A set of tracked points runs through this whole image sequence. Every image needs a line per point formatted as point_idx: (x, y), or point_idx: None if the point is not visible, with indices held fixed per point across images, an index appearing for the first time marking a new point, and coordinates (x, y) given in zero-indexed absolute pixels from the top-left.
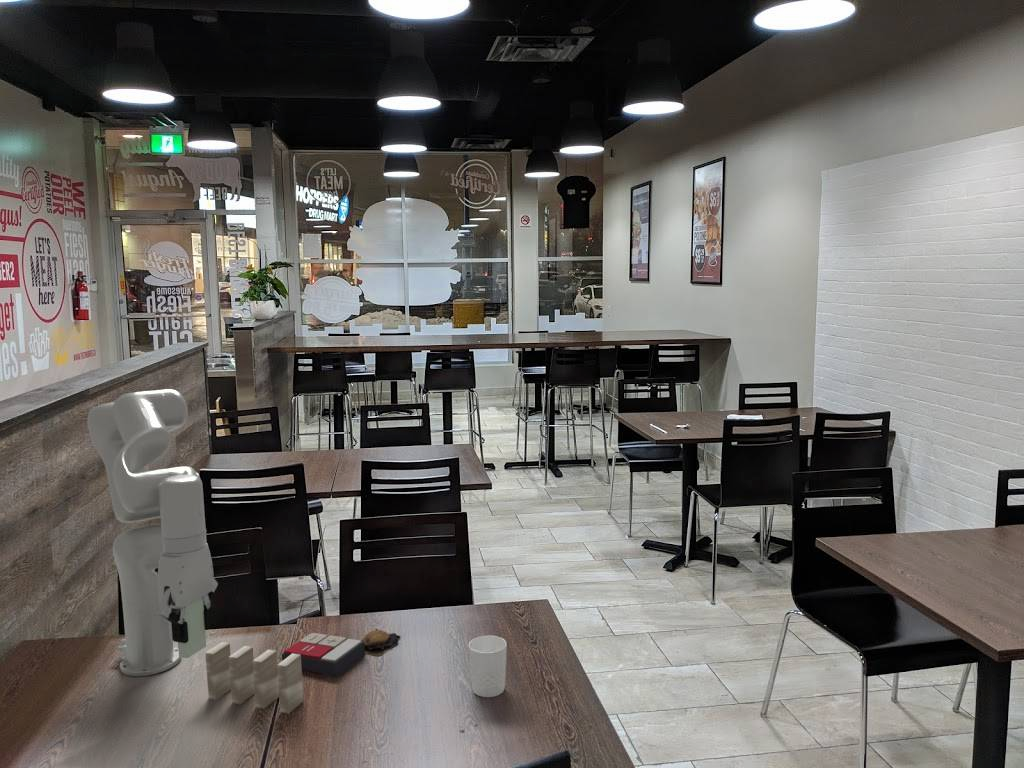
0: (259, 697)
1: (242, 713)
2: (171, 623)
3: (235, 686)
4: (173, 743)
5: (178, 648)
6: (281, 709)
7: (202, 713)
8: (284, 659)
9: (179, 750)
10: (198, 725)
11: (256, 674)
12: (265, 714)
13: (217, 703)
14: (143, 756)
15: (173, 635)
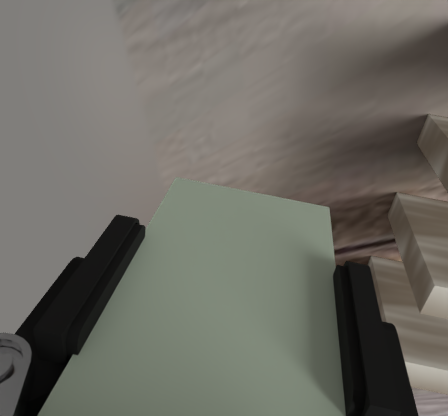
0: (398, 221)
1: (365, 170)
2: (47, 310)
3: (436, 153)
4: (200, 56)
5: (161, 203)
6: (370, 264)
7: (364, 50)
8: (435, 368)
9: (176, 93)
10: (295, 77)
11: (417, 261)
12: (360, 227)
13: (428, 67)
14: (128, 5)
15: (65, 273)
